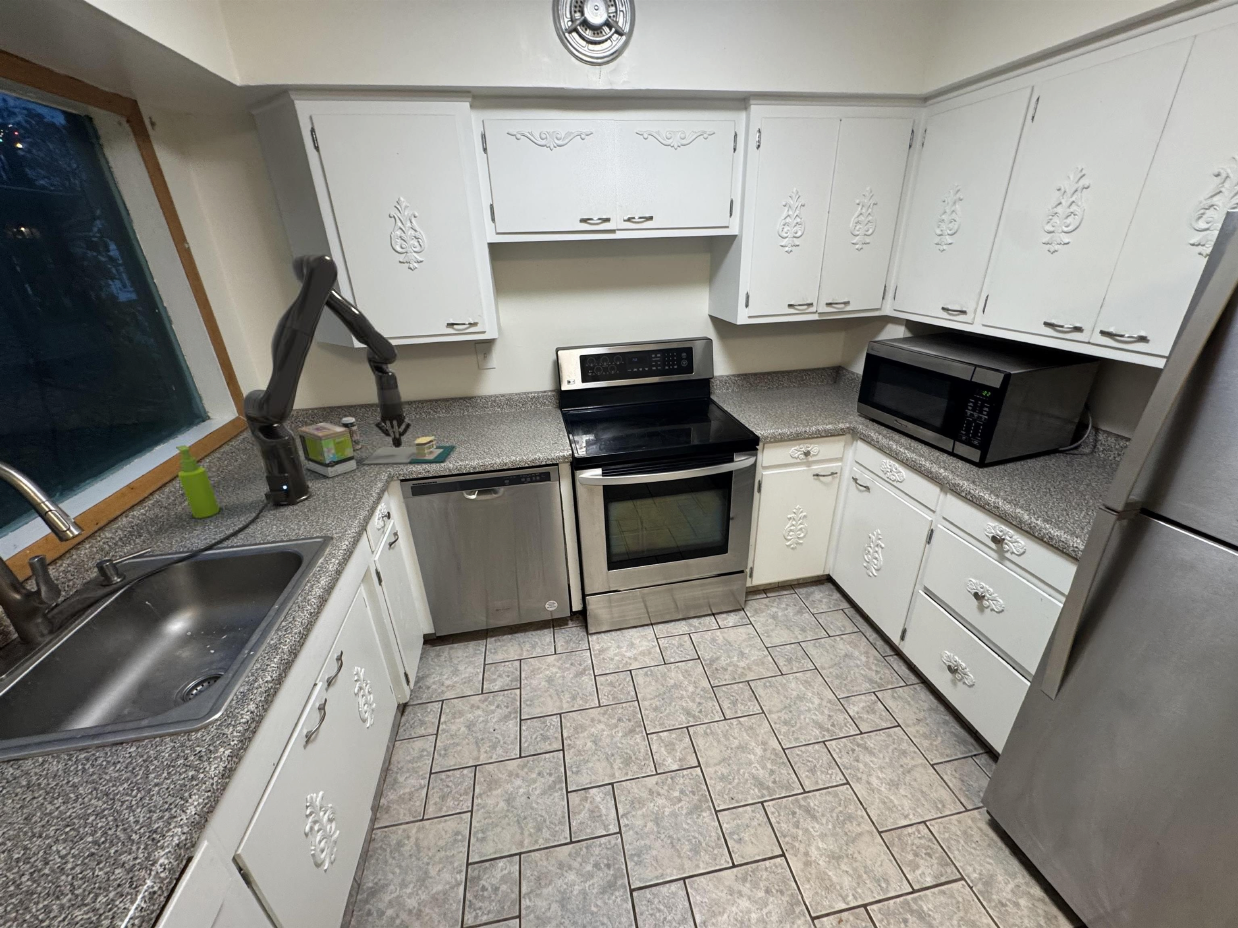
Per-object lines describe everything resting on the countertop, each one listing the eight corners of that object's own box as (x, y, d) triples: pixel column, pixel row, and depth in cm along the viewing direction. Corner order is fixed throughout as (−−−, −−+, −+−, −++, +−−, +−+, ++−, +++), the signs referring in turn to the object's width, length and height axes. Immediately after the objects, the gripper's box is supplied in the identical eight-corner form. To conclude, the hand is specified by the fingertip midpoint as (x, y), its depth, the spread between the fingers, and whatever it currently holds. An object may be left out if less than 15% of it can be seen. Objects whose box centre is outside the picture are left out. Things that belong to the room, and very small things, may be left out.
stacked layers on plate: (432, 459, 180) (429, 444, 178) (408, 458, 181) (405, 444, 179) (444, 449, 189) (441, 435, 187) (421, 448, 190) (418, 434, 188)
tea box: (358, 468, 174) (349, 427, 168) (329, 478, 166) (318, 436, 161) (335, 459, 182) (325, 420, 176) (306, 468, 174) (295, 428, 168)
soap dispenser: (214, 505, 148) (192, 441, 141) (222, 512, 144) (199, 447, 137) (190, 512, 144) (165, 447, 137) (196, 520, 140) (172, 453, 133)
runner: (443, 462, 178) (442, 461, 178) (362, 464, 177) (362, 463, 177) (454, 447, 193) (454, 445, 193) (380, 448, 192) (379, 447, 192)
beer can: (355, 451, 190) (349, 420, 185) (344, 450, 191) (337, 420, 186) (364, 446, 194) (357, 417, 190) (353, 446, 195) (346, 416, 190)
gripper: (366, 403, 173) (375, 450, 179) (405, 403, 173) (412, 450, 180) (375, 398, 180) (383, 443, 186) (412, 397, 180) (419, 443, 187)
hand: (398, 446), depth 183 cm, fingers closed
